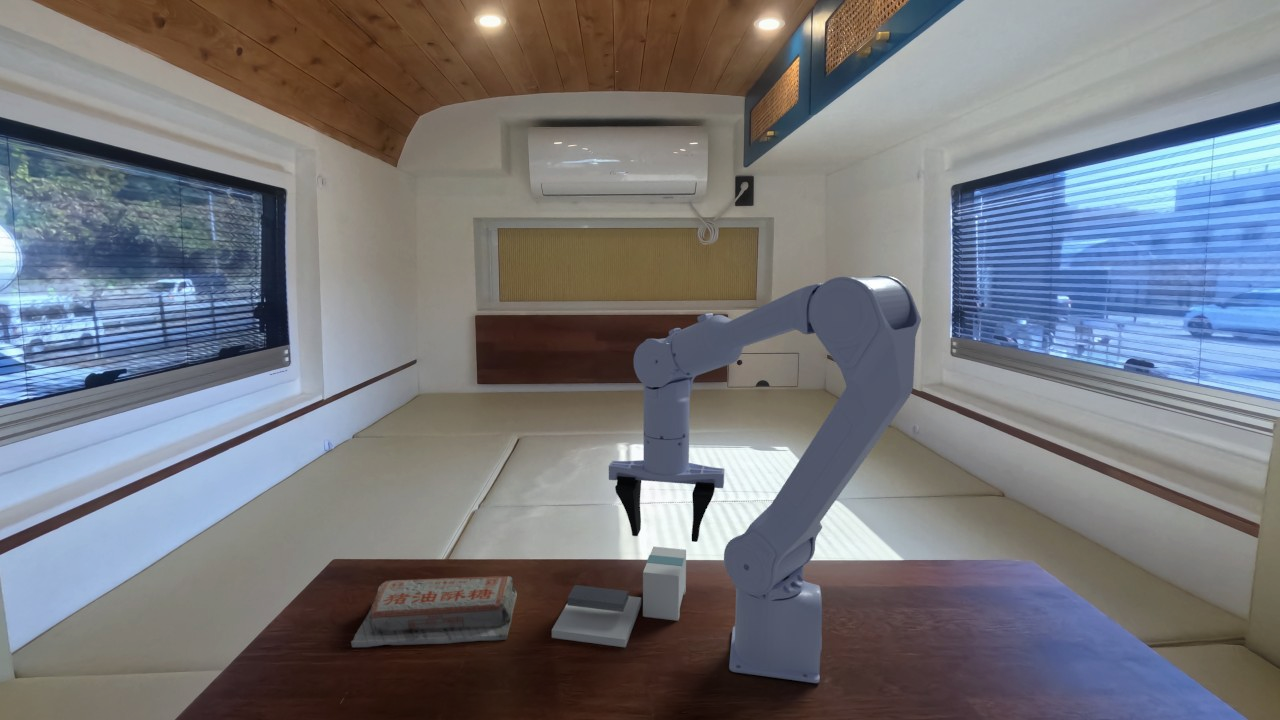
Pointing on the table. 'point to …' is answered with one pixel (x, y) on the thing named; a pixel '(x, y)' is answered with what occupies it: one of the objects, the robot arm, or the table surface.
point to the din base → (597, 624)
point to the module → (664, 583)
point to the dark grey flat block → (598, 598)
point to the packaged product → (439, 611)
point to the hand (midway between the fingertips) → (665, 535)
